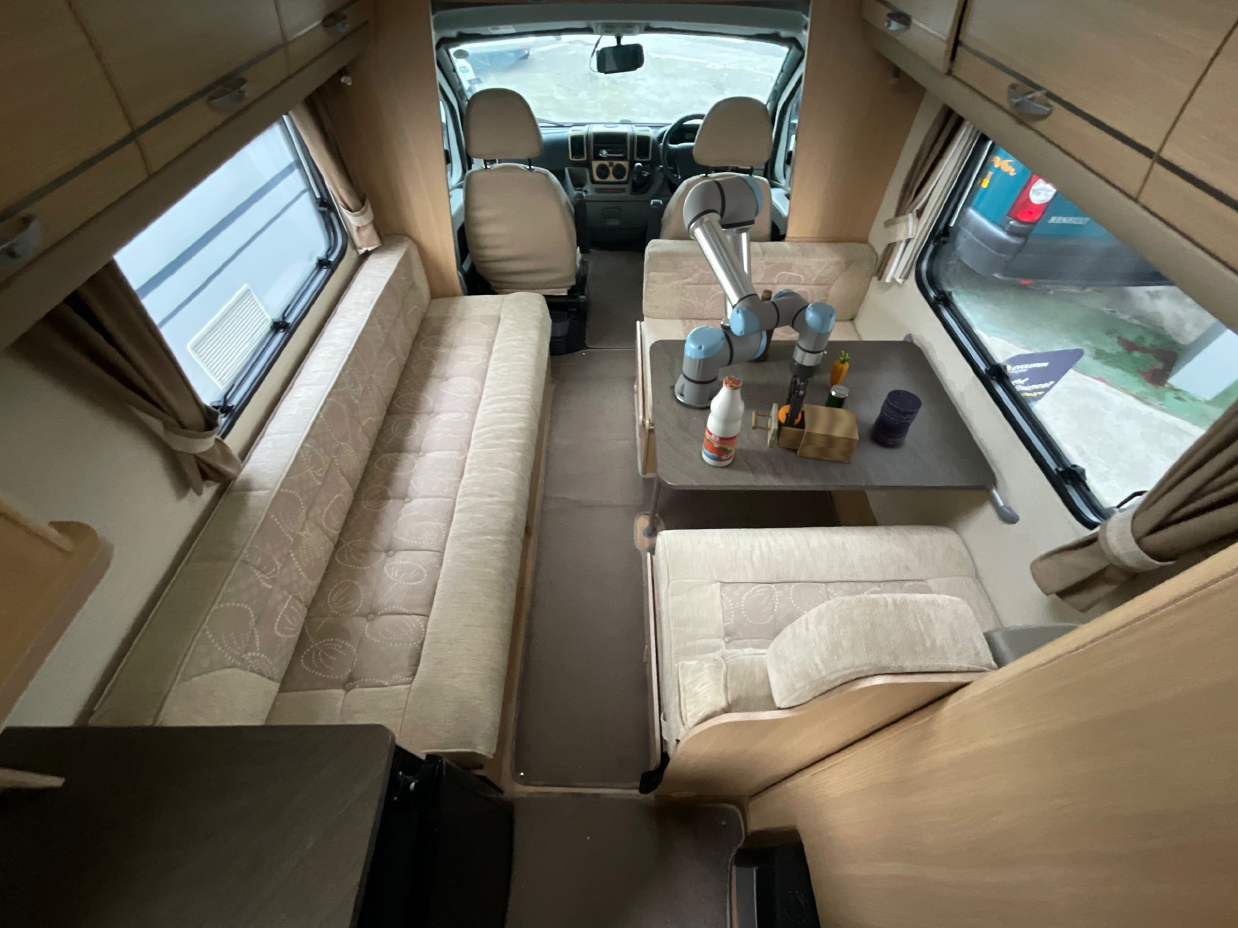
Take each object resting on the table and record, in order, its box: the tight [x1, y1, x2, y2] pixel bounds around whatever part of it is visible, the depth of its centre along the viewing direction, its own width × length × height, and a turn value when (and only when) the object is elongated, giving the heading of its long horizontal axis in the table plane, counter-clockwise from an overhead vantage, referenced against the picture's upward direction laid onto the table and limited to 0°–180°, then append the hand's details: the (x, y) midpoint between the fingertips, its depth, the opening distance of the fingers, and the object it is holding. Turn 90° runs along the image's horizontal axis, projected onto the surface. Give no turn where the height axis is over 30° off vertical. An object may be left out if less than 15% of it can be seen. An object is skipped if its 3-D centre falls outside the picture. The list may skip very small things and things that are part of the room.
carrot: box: [829, 350, 851, 389], centre depth 184 cm, size 5×5×15 cm
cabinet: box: [796, 403, 860, 464], centre depth 167 cm, size 15×13×10 cm
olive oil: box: [749, 289, 775, 363], centre depth 194 cm, size 11×11×25 cm
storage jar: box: [869, 389, 923, 449], centre depth 168 cm, size 10×10×15 cm
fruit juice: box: [701, 375, 745, 468], centre depth 156 cm, size 9×9×28 cm
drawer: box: [751, 403, 805, 450], centre depth 168 cm, size 19×12×8 cm, turn 79°
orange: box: [778, 405, 801, 426], centre depth 165 cm, size 6×6×6 cm
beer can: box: [824, 384, 849, 409], centre depth 175 cm, size 5×5×12 cm
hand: (786, 422), depth 167 cm, fingers closed on orange, 6 cm apart
